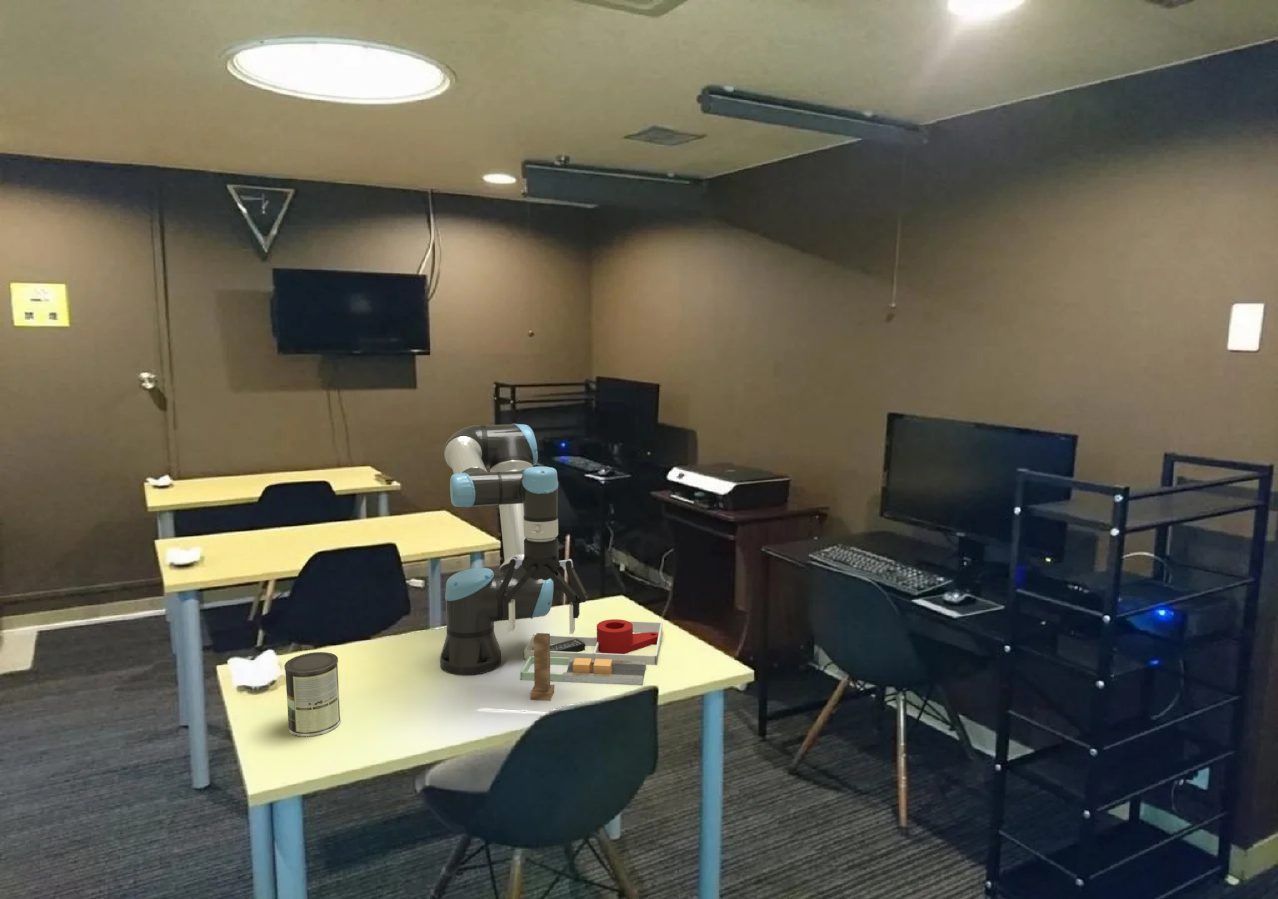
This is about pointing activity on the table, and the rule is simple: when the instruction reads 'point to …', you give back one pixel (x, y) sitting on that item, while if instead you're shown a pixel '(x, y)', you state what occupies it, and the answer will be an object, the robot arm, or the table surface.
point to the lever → (622, 637)
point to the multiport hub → (569, 646)
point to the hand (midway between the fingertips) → (542, 630)
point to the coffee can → (312, 693)
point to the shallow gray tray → (620, 674)
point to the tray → (553, 676)
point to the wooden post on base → (542, 668)
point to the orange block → (602, 666)
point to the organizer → (592, 641)
